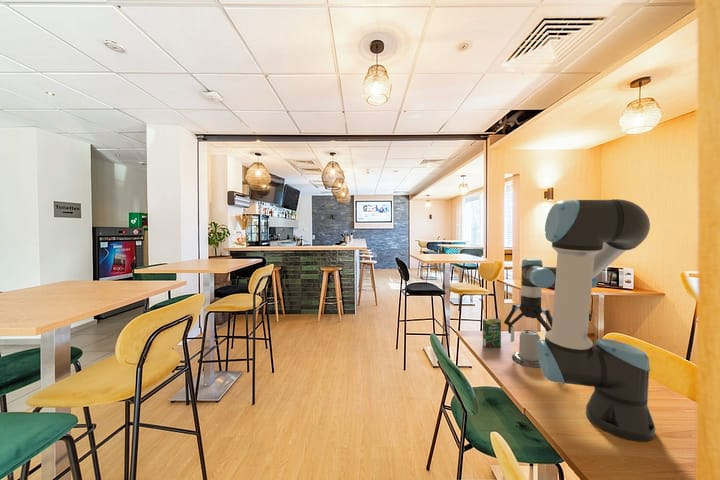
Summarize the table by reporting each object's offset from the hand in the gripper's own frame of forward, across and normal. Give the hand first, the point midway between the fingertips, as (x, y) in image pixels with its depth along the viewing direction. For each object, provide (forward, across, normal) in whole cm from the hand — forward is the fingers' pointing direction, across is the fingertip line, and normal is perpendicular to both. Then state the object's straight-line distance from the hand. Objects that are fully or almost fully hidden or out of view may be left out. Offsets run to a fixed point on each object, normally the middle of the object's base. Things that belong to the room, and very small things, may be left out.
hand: (529, 345), depth 127 cm
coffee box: (+7, +17, -5) cm, 19 cm away
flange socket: (+7, 0, 0) cm, 7 cm away
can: (+6, 0, 0) cm, 6 cm away
